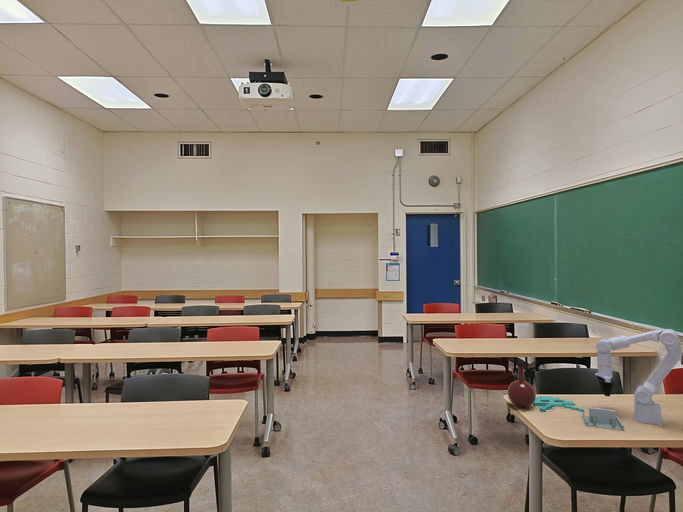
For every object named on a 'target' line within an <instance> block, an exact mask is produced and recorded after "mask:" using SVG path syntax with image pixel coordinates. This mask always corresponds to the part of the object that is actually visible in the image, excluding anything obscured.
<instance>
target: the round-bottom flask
mask: <svg viewBox="0 0 683 512" xmlns="http://www.w3.org/2000/svg"><path fill="white" fill-rule="evenodd" d="M524 369H525V367H523V366H517V378H518V379H517V380H514V381H513V382H511V383H510V384H509V386H508V387H507V397H508V399H509V401H510V402H511V404H513V405H514V406H515V407H518V408H522V409H523V408H526V409H527V408H529V407H532V406H533V405H532V404H533V403H534V402H535V399H536V397H537V392H536V390H535V388H534V387H533V386H532V384H531V383H530V382H528V381H526V380H525V378H524V377H525V373H524Z"/></svg>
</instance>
